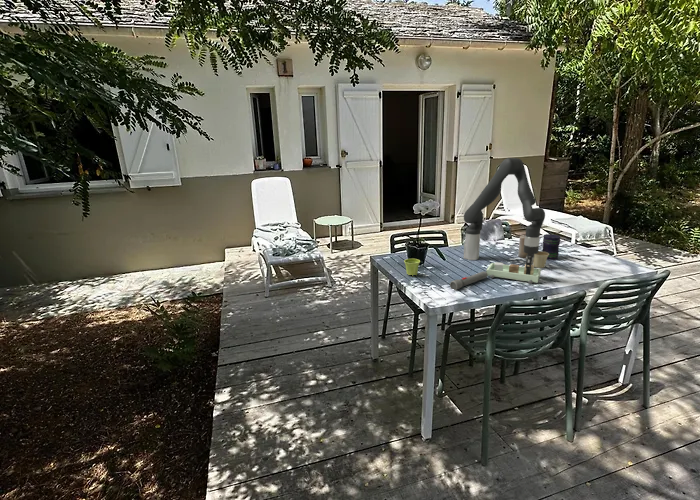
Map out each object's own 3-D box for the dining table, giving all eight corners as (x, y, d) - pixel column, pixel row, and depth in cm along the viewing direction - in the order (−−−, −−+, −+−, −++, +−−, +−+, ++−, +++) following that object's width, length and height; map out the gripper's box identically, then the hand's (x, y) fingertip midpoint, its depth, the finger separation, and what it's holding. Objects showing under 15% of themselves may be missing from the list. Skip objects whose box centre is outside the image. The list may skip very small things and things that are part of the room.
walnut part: (508, 274, 220) (509, 266, 218) (510, 272, 223) (510, 264, 222) (517, 275, 217) (517, 267, 216) (518, 273, 221) (519, 265, 220)
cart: (485, 277, 221) (485, 270, 220) (491, 269, 234) (492, 262, 233) (537, 285, 207) (537, 277, 206) (540, 275, 221) (541, 268, 220)
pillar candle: (536, 258, 252) (538, 236, 249) (521, 258, 253) (523, 236, 249) (530, 254, 262) (532, 233, 258) (515, 254, 262) (517, 233, 258)
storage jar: (544, 254, 259) (546, 233, 255) (560, 257, 253) (562, 235, 249) (538, 258, 253) (541, 236, 249) (554, 261, 246) (557, 238, 242)
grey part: (494, 272, 223) (494, 264, 222) (494, 270, 227) (495, 262, 226) (502, 273, 222) (503, 265, 220) (502, 270, 226) (503, 262, 224)
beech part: (523, 274, 215) (524, 266, 214) (524, 272, 219) (525, 264, 218) (532, 276, 213) (533, 267, 212) (533, 273, 217) (534, 265, 215)
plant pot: (410, 278, 223) (410, 264, 221) (400, 274, 232) (400, 260, 229) (423, 275, 228) (423, 261, 225) (413, 271, 236) (413, 257, 233)
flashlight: (489, 279, 219) (489, 271, 217) (456, 291, 203) (457, 282, 202) (481, 277, 222) (482, 269, 221) (449, 288, 207) (449, 280, 206)
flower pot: (549, 269, 231) (551, 255, 229) (532, 268, 233) (534, 255, 231) (545, 264, 240) (546, 251, 238) (529, 264, 242) (530, 250, 240)
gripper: (525, 240, 219) (523, 269, 224) (522, 246, 207) (519, 276, 212) (540, 241, 215) (537, 270, 220) (537, 248, 204) (534, 278, 208)
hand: (528, 273), depth 216 cm, fingers closed on beech part, 4 cm apart
